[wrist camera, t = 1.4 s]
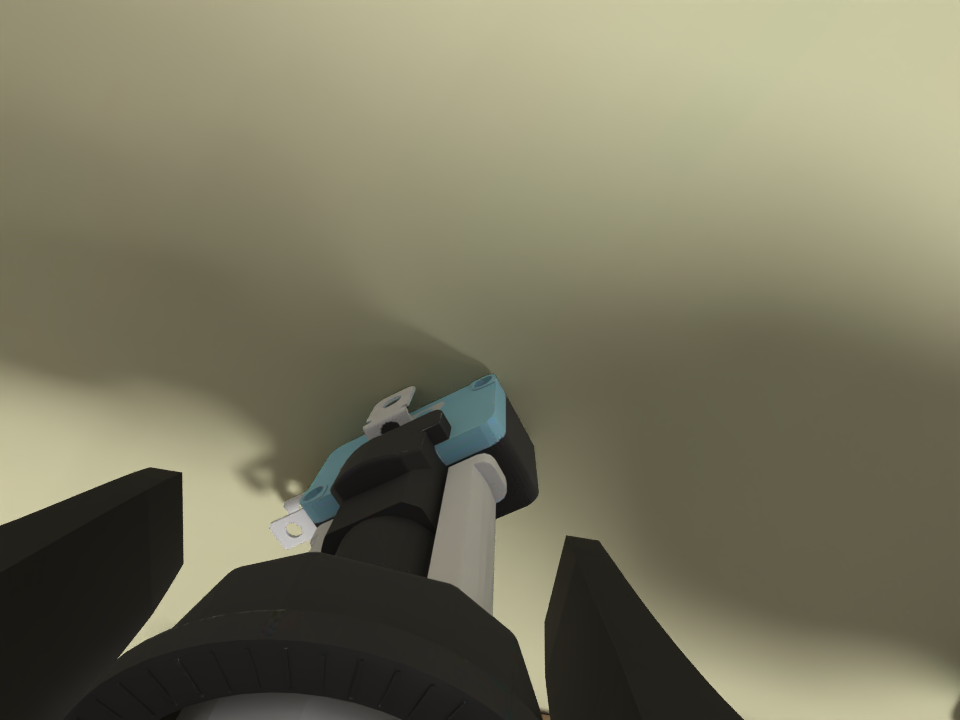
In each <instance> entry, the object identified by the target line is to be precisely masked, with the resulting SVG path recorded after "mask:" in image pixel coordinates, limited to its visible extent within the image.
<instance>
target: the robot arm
mask: <svg viewBox="0 0 960 720" xmlns="http://www.w3.org/2000/svg"><path fill="white" fill-rule="evenodd" d="M182 565H183V496H182V473H181V472H175V471H169V470H163V469H157V468H151V467H149V468H146V469H143V470H140V471H137V472H134V473H131V474H128V475H126V476H123V477H121V478H118V479H116V480H113V481H110V482H108V483H105V484H103V485H101V486H98V487H96V488H93V489H91V490H88V491H86V492H83V493H81V494H79V495H76V496H74V497H71V498H69V499H66V500H64V501H61V502H59V503H56V504H54V505H51V506H49V507H47V508H44V509H42V510H39V511H37V512H34V513H32V514H29V515H27V516H24V517H22V518H19V519H17V520H14V521H11V522H9V523H6V524H3V525H1V526H0V720H63V719H64V718H65V716H66V715H67V714H68V713H69V711H70V710H71V709H72V708H73V706H74V705H75V704H76V703H77V702H78V700H79V699H80V698H81V697H82V695H83V694H84V693H85V692H86V690H87V689H88V688H89V687H90V685H91V684H92V683H93V682H94V681H95V680H96V679H97V678H98V677H99V676H100V674H101V673H102V672H103V671H104V670H105V669H106V668H107V667H108V666H109V665H111V664H112V663H113V662H114V661H116V660H117V659H118V657H119V656H120V655H121V654H122V652H123V651H124V650H125V649H126V647H127V646H128V645H129V643H130V642H131V641H132V640H133V638H134V637H135V636H136V635H137V633H138V632H139V631H140V630H141V628H142V627H143V626H144V624H145V623H146V622H147V621H148V619H149V618H150V617H151V615H152V614H153V612H154V611H155V609H156V608H157V606H158V605H159V603H160V602H161V600H162V598H163V597H164V595H165V594H166V592H167V591H168V589H169V587H170V585H171V584H172V582H173V580H174V579H175V577H176V575H177V574H178V572H179V570H180V569H181V567H182ZM545 679H546V688H547V696H548V704H549V712H550V720H744V719H743V718H742V717H741V716H740V715H739V714H738V713H737V712H736V711H735V710H734V709H733V708H732V707H731V706H730V705H729V704H728V703H727V702H726V701H725V700H724V699H723V698H722V697H721V696H720V695H719V694H718V692H717V691H716V690H715V689H714V688H713V687H712V686H711V685H710V684H709V683H708V682H707V680H706V679H705V678H704V677H703V676H702V675H701V674H700V672H699V671H698V670H697V669H696V668H695V667H694V665H693V664H692V663H691V662H690V661H689V660H688V658H687V657H686V656H685V655H684V654H683V653H682V651H681V650H680V649H679V648H678V647H677V645H676V644H675V643H674V642H673V641H672V639H671V638H670V637H669V636H668V634H667V633H666V632H665V631H664V629H663V628H662V627H661V626H660V624H659V623H658V622H657V620H656V619H655V618H654V616H653V615H652V614H651V613H650V611H649V610H648V609H647V607H646V606H645V605H644V603H643V602H642V601H641V599H640V598H639V597H638V595H637V594H636V592H635V591H634V590H633V588H632V587H631V586H630V584H629V583H628V581H627V580H626V579H625V577H624V576H623V574H622V573H621V571H620V570H619V569H618V567H617V566H616V564H615V563H614V562H613V560H612V559H611V557H610V556H609V554H608V553H607V552H606V550H605V549H604V547H603V546H602V545H601V543H600V542H599V541H597V540H591V539H585V538H579V537H573V536H567V535H566V538H565V542H564V546H563V550H562V554H561V558H560V562H559V566H558V570H557V575H556V579H555V583H554V587H553V591H552V595H551V599H550V603H549V607H548V611H547V615H546V619H545Z"/></svg>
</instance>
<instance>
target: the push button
mask: <svg viewBox="0 0 960 720" xmlns="http://www.w3.org/2000/svg"><path fill="white" fill-rule="evenodd" d="M415 390H416V388H415V386H411V387H408V388H406V389H404V390H402V391H399V392H397V393H395V394H393V395H391V396H389V397H387V398H385V399H383V400H382V401H380V402H379V403H378V404H376V405H375V407H374V409H373V410H372V412H371V414H370V416H369V417H368V419H367V421H366V423H367V425H365V426H364V427H363V432H364V433H365V435H363V436H361V437H359V438H356V439H354V440H352V441H350V442H348V443H346V444H344V445H342V446H340V447H339V448H337V449H336V450H335V451H333V452H332V453H331V454H330V455H329V457H328V459H327V460H326V462H325V463H324V465H323V467H322V468H321V470H320V471H319V473H318V475H317V476H316V478H315V479H314V481H313V483H312V484H311V486H310V487H309V489H308V490H307V491H305V492H304V493H302V494H300V495H298V496H296V497H293V498H291V499H289V500H287V501H285V503H284V508H285V509H286V511H287V512H288V514H289V515H286V516H284V517H282V518H280V519H278V520H275V521H273V522H271V524H270V527H269V529H270V530H271V531H272V533H273V534H274V536H275V537H276V538H277V540H278V541H279V542H280V544H281V545H282V547H283V548H285V549H290V548H293V547H295V546H297V545H299V544H302V543H304V542H306V541H308V540H311V542H310V544H311V549H310V551H309V552H307V553H303V554H298V555H293V556H289V557H284V558H279V559H275V560H270V561H265V562H261V563H256V564H251V565H247V566H242V567H239V568H236V569H234V570H233V571H231V572H230V573H228V574H227V575H226V576H225V577H224V578H223V579H222V580H221V581H220V582H219V583H218V584H217V585H216V586H215V587H214V588H213V589H212V590H211V591H210V592H209V593H208V594H207V595H206V596H205V597H204V598H203V599H202V600H201V601H200V602H199V603H197V604H196V605H195V606H194V607H193V608H192V609H191V610H190V611H189V612H188V613H187V614H186V615H185V616H184V617H183V618H182V619H181V620H180V621H179V622H178V623H177V624H176V625H175V626H174V627H173V628H172V629H169V630H167V631H165V632H162V633H160V634H158V635H156V636H154V637H152V638H149V639H147V640H145V641H144V642H142V643H140V644H139V645H137V646H135V647H134V648H132V649H131V650H129V651H127V652H126V653H124V654H123V655H122V656H121V657H119V658H118V659H117V660H116V661H114V662H113V663H112V664H111V665H109V666H108V667H107V668H106V669H105V670H104V671H103V672H102V673H101V674H100V676H99V677H98V678H97V679H96V680H95V681H94V682H93V683H92V684H91V685H90V687H89V688H88V689H87V690H86V692H85V693H84V694H83V695H82V697H81V698H80V699H79V700H78V702H77V703H76V704H75V705H74V706H73V708H72V709H71V710H70V711H69V713H68V714H67V715H66V716H65V718H64V719H63V720H543V718H542V715H541V712H540V709H539V705H538V702H537V699H536V696H535V693H534V690H533V687H532V684H531V681H530V678H529V675H528V671H527V668H526V665H525V662H524V659H523V656H522V653H521V650H520V647H519V644H518V641H517V639H516V637H515V636H514V634H513V633H512V632H511V631H510V630H509V629H507V628H506V627H505V626H504V625H503V624H501V623H500V622H499V621H498V620H497V619H495V618H494V617H493V584H494V550H495V519H497V518H499V517H502V516H504V515H507V514H509V513H511V512H514V511H516V510H518V509H521V508H523V507H526V506H528V505H529V504H531V503H532V502H533V501H534V500H535V499H536V498H537V496H538V493H539V490H538V481H537V471H536V461H535V452H534V445H533V443H532V442H531V440H530V438H529V436H528V434H527V433H526V431H525V429H524V427H523V425H522V423H521V422H520V420H519V418H518V416H517V414H516V412H515V411H514V409H513V407H512V405H511V403H510V401H509V399H508V398H507V396H506V394H505V392H504V390H503V389H502V387H501V385H500V383H499V381H498V379H497V378H496V376H495V375H494V374H490V375H487V376H484V377H482V378H480V379H478V380H476V381H474V382H471V384H470V385H468V386H466V387H464V388H462V389H460V390H458V391H456V392H453V393H451V394H449V395H447V396H445V397H443V398H441V399H439V400H437V401H434V402H432V403H430V404H428V405H426V406H424V407H422V408H420V409H418V410H415V411H413V412H411V413H409V412H408V409H407V408H406V407H407V406H409V405H410V402H411V400H412V397H413V395H414V392H415ZM397 399H399V400H398V401H397V402H396V403H394V404H392V405H391V406H388V407H386V406H387V405H389V404H390V403H391V402H393V401H395V400H397ZM385 407H386V408H385ZM300 504H301V506H302V507H303V508H302V509H300V506H299V505H300ZM290 523H295V524H296V525H297V526H300V527H301V528H302V534H300V535H298V536H294V535H291V534H289V533H288V531H287V529H286V526H287V525H288V524H290Z"/></svg>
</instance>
